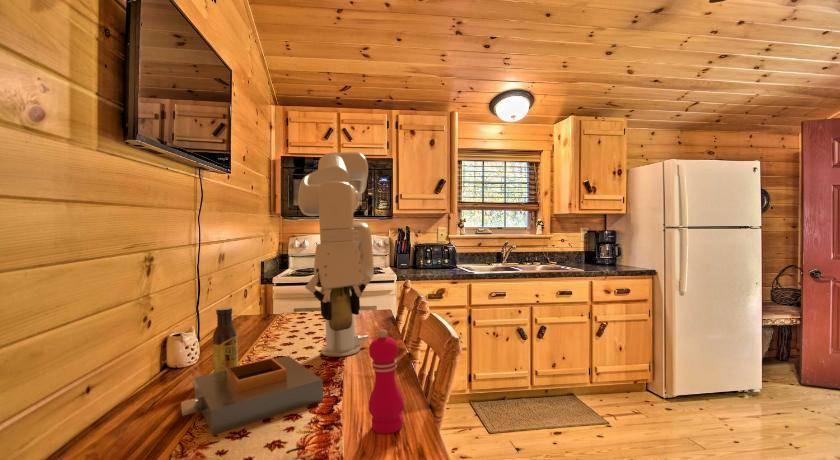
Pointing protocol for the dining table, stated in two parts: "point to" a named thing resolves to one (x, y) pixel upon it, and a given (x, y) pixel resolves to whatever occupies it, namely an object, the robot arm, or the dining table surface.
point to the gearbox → (253, 392)
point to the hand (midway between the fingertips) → (341, 315)
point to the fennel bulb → (340, 309)
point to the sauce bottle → (224, 341)
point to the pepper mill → (385, 386)
